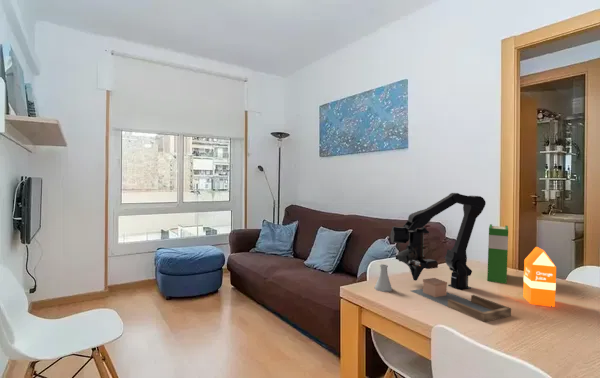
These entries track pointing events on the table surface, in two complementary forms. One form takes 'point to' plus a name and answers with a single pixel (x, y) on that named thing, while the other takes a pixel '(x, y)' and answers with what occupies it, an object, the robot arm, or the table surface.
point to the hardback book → (497, 254)
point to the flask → (383, 280)
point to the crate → (434, 287)
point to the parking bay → (495, 312)
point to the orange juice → (539, 279)
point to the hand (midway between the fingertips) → (415, 280)
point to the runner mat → (444, 299)
